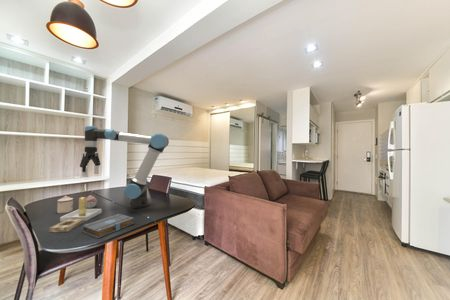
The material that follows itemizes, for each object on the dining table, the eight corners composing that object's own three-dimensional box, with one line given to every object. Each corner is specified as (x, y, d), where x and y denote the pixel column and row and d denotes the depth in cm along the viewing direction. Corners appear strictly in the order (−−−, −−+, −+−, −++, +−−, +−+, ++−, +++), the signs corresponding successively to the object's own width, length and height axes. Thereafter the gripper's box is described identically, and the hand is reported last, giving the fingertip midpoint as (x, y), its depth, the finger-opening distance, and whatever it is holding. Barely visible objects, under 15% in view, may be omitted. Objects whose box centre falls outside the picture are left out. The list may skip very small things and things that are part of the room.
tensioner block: (83, 223, 110) (83, 219, 110) (67, 231, 98) (67, 227, 98) (66, 223, 109) (66, 219, 109) (48, 232, 97) (48, 227, 97)
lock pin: (87, 214, 122) (87, 196, 122) (83, 217, 118) (83, 198, 118) (81, 215, 122) (81, 196, 121) (76, 217, 118) (77, 198, 117)
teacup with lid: (75, 210, 132) (75, 195, 132) (59, 214, 124) (60, 198, 124) (68, 208, 137) (68, 193, 137) (52, 211, 129) (53, 196, 129)
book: (118, 219, 117) (118, 212, 117) (134, 224, 110) (134, 216, 110) (81, 232, 99) (81, 223, 99) (98, 239, 91) (98, 229, 91)
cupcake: (99, 206, 141) (99, 194, 141) (85, 210, 133) (85, 197, 133) (94, 204, 146) (95, 193, 146) (81, 207, 139) (81, 195, 139)
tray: (101, 212, 128) (101, 208, 128) (86, 221, 112) (86, 216, 112) (78, 213, 127) (78, 209, 127) (59, 221, 111) (59, 217, 111)
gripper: (95, 147, 140) (95, 173, 140) (73, 146, 116) (72, 177, 115) (105, 147, 141) (105, 172, 141) (85, 146, 117) (85, 177, 117)
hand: (90, 175), depth 128 cm, fingers open, 13 cm apart
